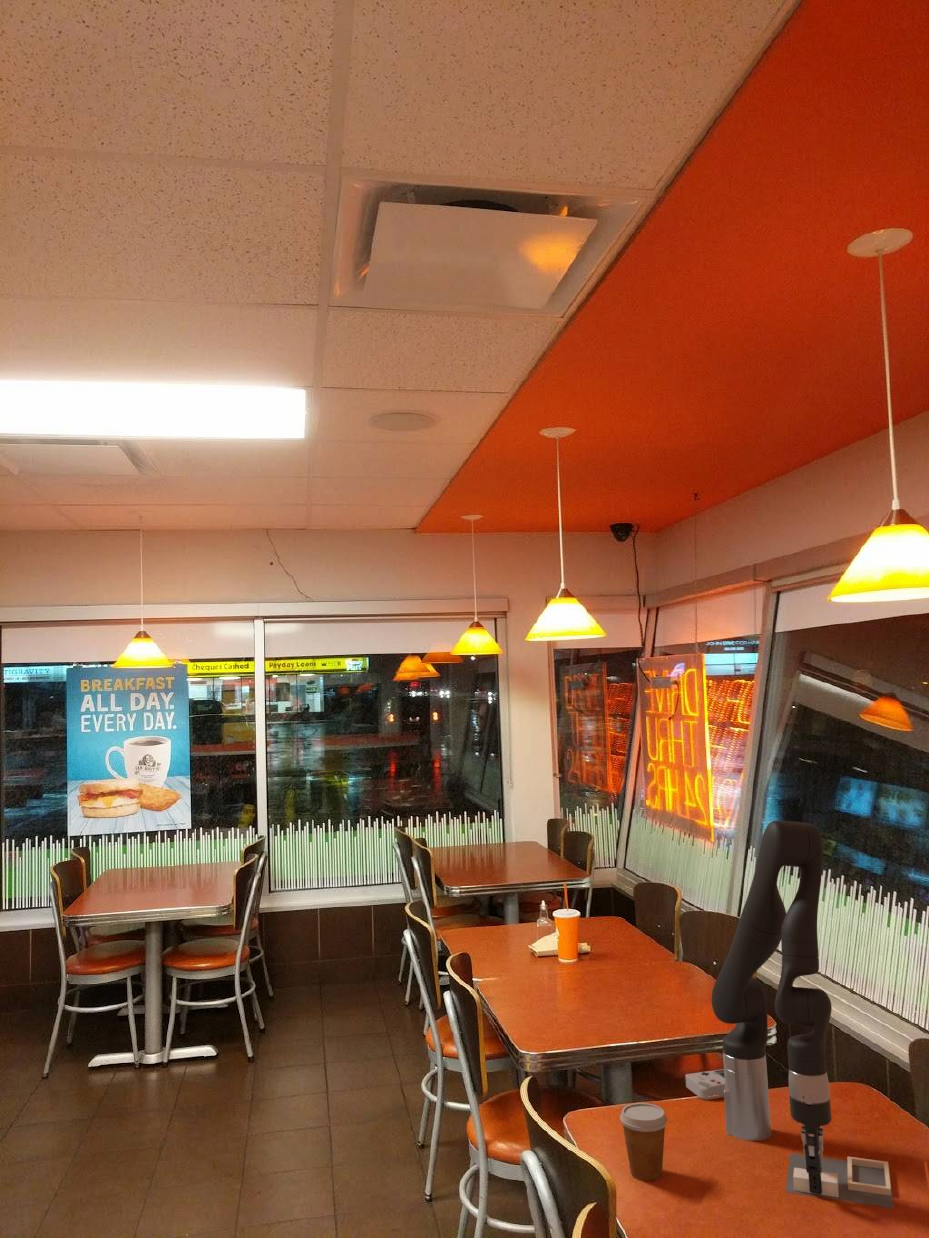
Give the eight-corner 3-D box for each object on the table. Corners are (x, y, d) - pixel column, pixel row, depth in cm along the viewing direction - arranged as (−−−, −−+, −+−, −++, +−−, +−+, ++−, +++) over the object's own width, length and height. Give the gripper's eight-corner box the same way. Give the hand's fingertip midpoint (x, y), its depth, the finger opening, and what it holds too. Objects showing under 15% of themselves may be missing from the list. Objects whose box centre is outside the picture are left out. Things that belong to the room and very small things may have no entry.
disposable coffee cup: (672, 1165, 188) (669, 1104, 190) (667, 1187, 179) (663, 1123, 181) (626, 1160, 191) (623, 1099, 193) (619, 1181, 182) (616, 1118, 184)
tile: (794, 1190, 176) (793, 1176, 176) (795, 1180, 179) (794, 1167, 180) (838, 1197, 173) (837, 1183, 173) (838, 1187, 176) (837, 1173, 177)
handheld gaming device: (685, 1088, 229) (684, 1073, 229) (737, 1081, 232) (737, 1065, 233) (703, 1103, 220) (702, 1086, 220) (757, 1095, 224) (756, 1078, 224)
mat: (785, 1194, 175) (785, 1185, 175) (790, 1155, 191) (789, 1146, 191) (894, 1211, 168) (893, 1201, 168) (889, 1169, 184) (888, 1160, 184)
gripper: (791, 1078, 186) (797, 1167, 184) (787, 1105, 173) (794, 1201, 171) (830, 1082, 183) (837, 1173, 181) (829, 1110, 170) (836, 1208, 168)
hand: (816, 1186), depth 176 cm, fingers closed on tile, 4 cm apart
